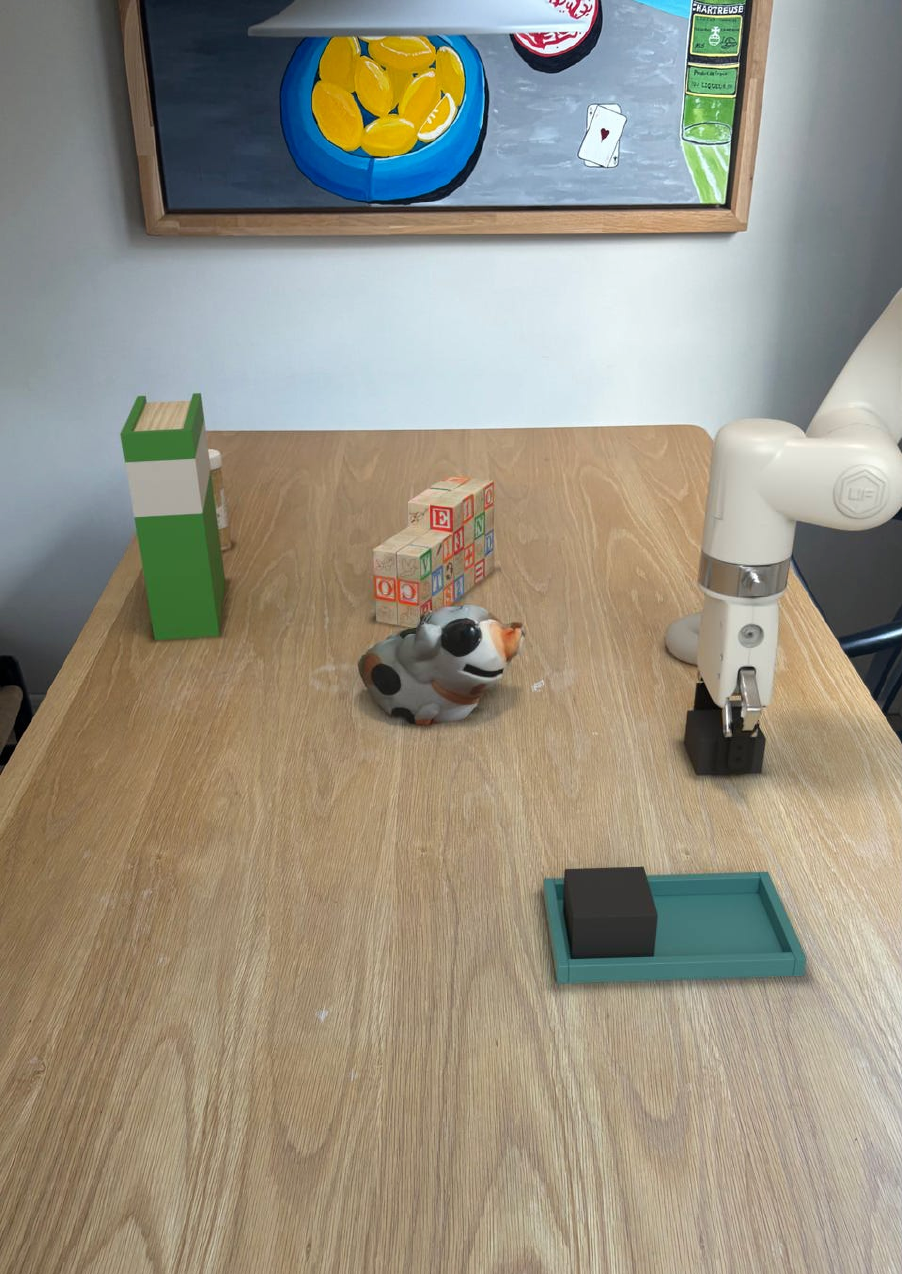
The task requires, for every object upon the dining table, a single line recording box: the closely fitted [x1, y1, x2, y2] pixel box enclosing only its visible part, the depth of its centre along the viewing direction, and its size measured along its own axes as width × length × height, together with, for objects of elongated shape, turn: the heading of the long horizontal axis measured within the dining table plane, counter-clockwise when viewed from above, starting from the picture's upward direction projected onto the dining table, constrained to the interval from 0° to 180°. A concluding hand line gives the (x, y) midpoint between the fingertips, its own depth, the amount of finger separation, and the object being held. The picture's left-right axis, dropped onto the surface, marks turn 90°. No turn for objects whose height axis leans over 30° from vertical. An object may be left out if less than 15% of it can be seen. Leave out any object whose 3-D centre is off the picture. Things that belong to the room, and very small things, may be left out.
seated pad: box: [563, 866, 658, 959], centre depth 85 cm, size 6×6×4 cm
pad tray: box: [542, 871, 808, 984], centre depth 86 cm, size 18×11×2 cm, turn 91°
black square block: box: [683, 709, 767, 776], centre depth 108 cm, size 6×6×4 cm
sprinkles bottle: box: [208, 448, 232, 552], centre depth 158 cm, size 5×5×14 cm
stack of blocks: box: [372, 475, 495, 629], centre depth 142 cm, size 21×6×12 cm, turn 154°
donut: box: [664, 612, 702, 667], centre depth 128 cm, size 10×4×10 cm
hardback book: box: [119, 392, 226, 641], centre depth 136 cm, size 18×7×24 cm, turn 7°
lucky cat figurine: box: [357, 603, 527, 727], centre depth 116 cm, size 15×12×14 cm
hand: (720, 745), depth 108 cm, fingers open, 9 cm apart
